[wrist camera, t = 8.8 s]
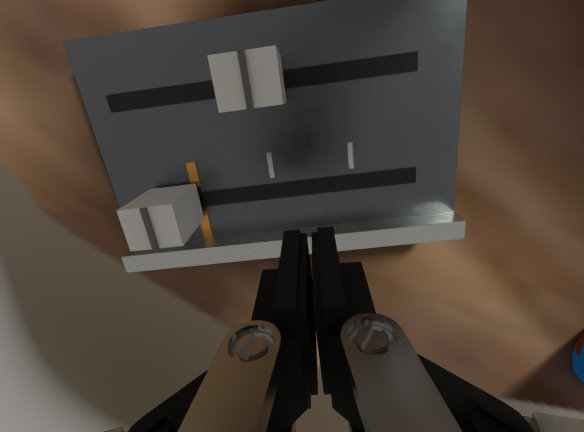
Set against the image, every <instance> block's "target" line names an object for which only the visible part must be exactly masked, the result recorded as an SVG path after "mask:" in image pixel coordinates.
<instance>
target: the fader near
mask: <svg viewBox="0 0 584 432" xmlns="http://www.w3.org/2000/svg"><path fill="white" fill-rule="evenodd" d="M207 56H208V61H209V66H210V71H211V76H212V81H213V86H214V91H215V96H216V101H217V106H218V111H219V113H222V112H229V111H237V110H244V109H253V108H259V107H267V106H274V105H282V104H284V103H286V94H285V86H284V78H283V70H282V62H281V55H280V53H279V51H278V49H277V47H276V45H274V46H267V47H261V48H254V49H247V50H244V49H242V50H237V51H233V52H227V53H220V54H213V55H207Z"/></svg>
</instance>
